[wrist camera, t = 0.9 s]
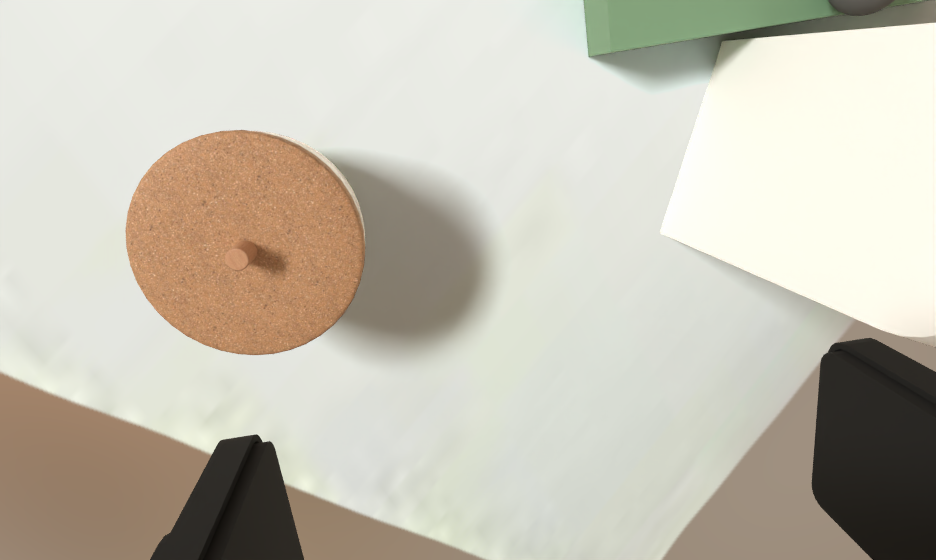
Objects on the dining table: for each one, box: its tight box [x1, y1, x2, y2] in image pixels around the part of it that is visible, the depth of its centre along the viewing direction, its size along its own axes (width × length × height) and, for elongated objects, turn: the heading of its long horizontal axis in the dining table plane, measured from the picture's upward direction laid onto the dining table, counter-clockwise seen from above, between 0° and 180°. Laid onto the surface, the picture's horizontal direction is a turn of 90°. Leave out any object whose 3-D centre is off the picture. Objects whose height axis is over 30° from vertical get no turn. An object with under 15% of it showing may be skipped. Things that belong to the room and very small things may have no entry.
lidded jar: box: [126, 130, 365, 355], centre depth 30 cm, size 11×11×9 cm
